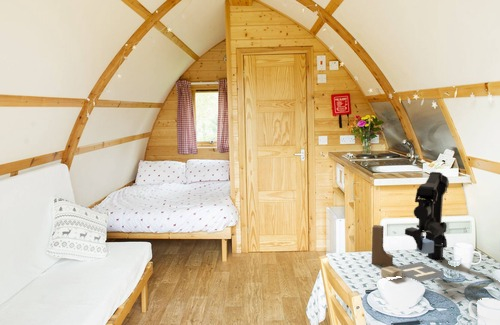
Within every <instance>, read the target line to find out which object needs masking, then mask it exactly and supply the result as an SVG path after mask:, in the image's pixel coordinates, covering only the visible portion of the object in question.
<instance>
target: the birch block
mask: <svg viewBox="0 0 500 325" xmlns="http://www.w3.org/2000/svg"><path fill="white" fill-rule="evenodd" d="M395 267H396V266H393V265H392V266H385V267H381V271H380V276H381V278H384V277H396V276H401V277H402V278H403V274H402V270H401V269H398V268H395Z"/></svg>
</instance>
